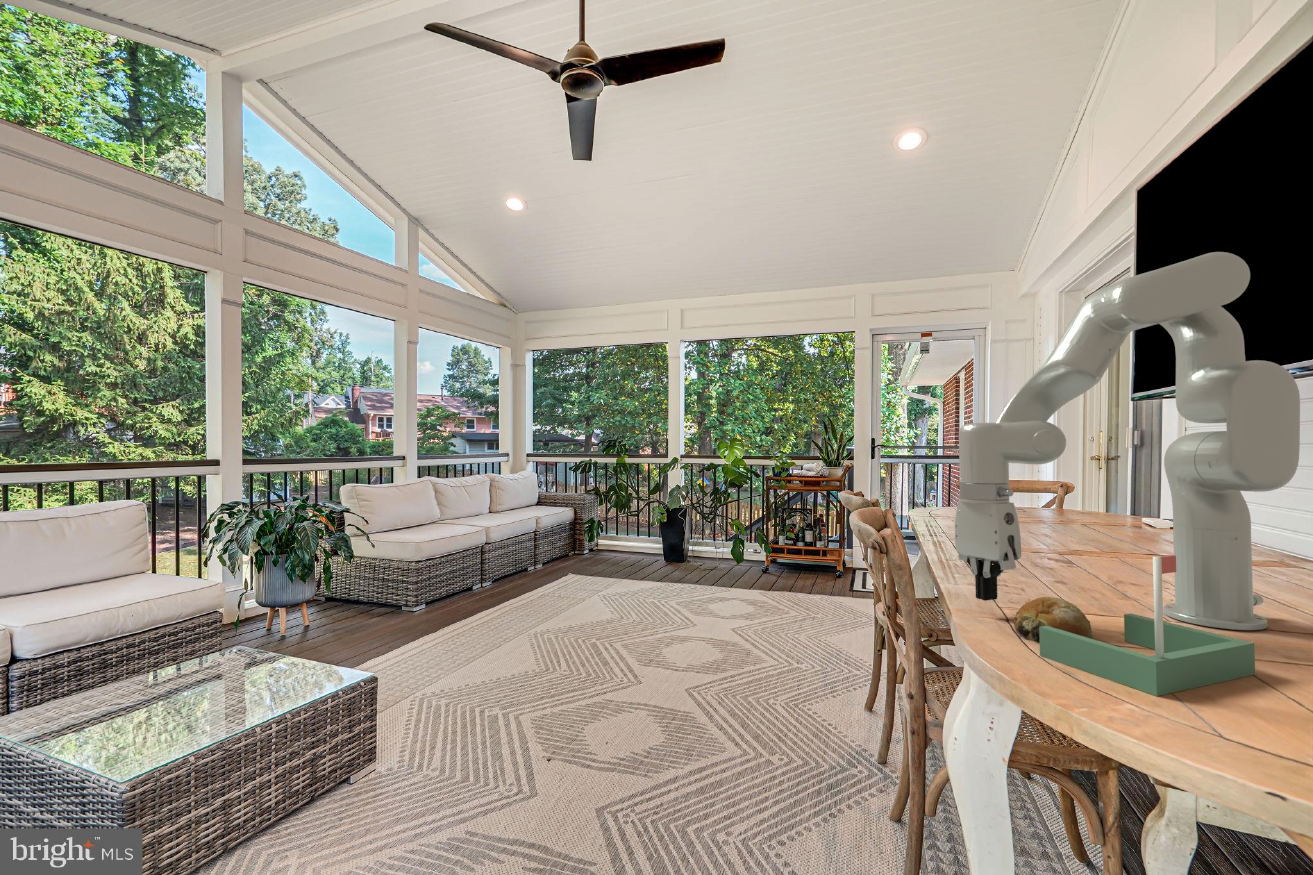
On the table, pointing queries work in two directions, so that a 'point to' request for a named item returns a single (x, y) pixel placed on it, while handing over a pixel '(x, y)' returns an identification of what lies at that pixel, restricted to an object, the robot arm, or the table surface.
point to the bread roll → (1050, 618)
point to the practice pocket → (1179, 668)
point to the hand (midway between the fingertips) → (986, 598)
